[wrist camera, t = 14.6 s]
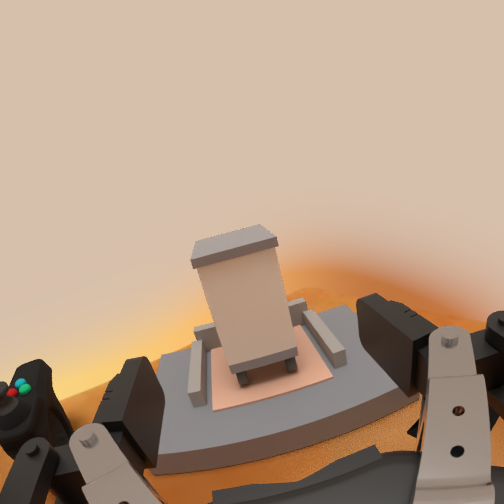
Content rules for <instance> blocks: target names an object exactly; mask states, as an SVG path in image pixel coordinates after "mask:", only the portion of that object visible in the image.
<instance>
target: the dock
mask: <svg viewBox="0 0 504 504" xmlns="http://www.w3.org/2000/svg"><path fill="white" fill-rule="evenodd" d="M287 303H288V308H289V312H290V317H291V322H292V326H293V331H294V336H295V340H296V345H297V350H298V356H295V359H296V363H297V368H298V370H295V371H292V372H288V371H287V368H286V366H285V362H284V360H282V361H279V362H275V363H272V364H269V365H265V366H261V367H258V368H254V369H250V370H247V371H246V372H247V376H248V380H249V384H246V385H242V386H240V385H239V382H238V379H237V376H236V373H235V374H232V373H231V371H230V368H229V365H228V362H227V359H226V356H225V354H224V351H223V348H222V345H221V342H220V339H219V336H218V333H217V330H216V327H215V324H214V322H213V323H210V324H205V325H201V326H198V327H194V334H195V337H196V339H197V341H194V342H192V348H191V349H187V350H182V351H178V352H173V353H169V354H164V355H162V356H161V359H160V363H159V367H158V371H157V375H156V377H157V379H158V381H159V383H160V385H161V387H162V389H163V392H164V395H165V409H164V415H163V422H162V429H161V436H160V443H159V451H158V459H157V467H156V468H149V470H150V471H151V472H152V473H153V474H154V475H165V474H177V473H186V472H195V471H202V470H209V469H216V468H222V467H227V466H233V465H238V464H243V463H248V462H252V461H257V460H261V459H265V458H269V457H273V456H277V455H280V454H284V453H288V452H291V451H295V450H298V449H301V448H304V447H308V446H311V445H314V444H317V443H320V442H323V441H325V440H328V439H331V438H334V437H337V436H339V435H342V434H344V433H347V432H350V431H352V430H355V429H357V428H359V427H362V426H364V425H366V424H369V423H371V422H373V421H376V420H378V419H380V418H382V417H384V416H386V415H389V414H391V413H393V412H395V411H397V410H399V409H401V408H403V407H405V406H407V405H409V404H411V403H412V402H414V401H416V400H418V399H419V393H417V394H415V395H413V396H411V397H409V398H408V397H407V396H406V395H405V394H404V392H403V391H402V390H401V389H400V388H399V387H398V386H397V385H396V384H395V382H394V381H393V380H392V379H391V378H390V377H389V376H388V375H387V374H386V372H385V371H384V370H383V369H382V368H381V367H380V366H379V365H378V364H377V363H376V361H375V360H374V359H373V358H372V357H371V356H370V355H369V354H368V353H367V352H366V351H365V349H364V348H363V346H362V344H361V342H360V338H359V330H358V318H357V315H356V314H355V313H354V312H353V311H352V310H351V309H350V308H349V307H347V306H346V305H342V306H339V307H336V308H333V309H330V310H327V311H324V312H321V313H318V314H316V312H315V311H314V310H313V309H310V310H308V309H307V304H306V301H305V299H304V298H299V299H296V300H293V301H289V302H287Z"/></svg>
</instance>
